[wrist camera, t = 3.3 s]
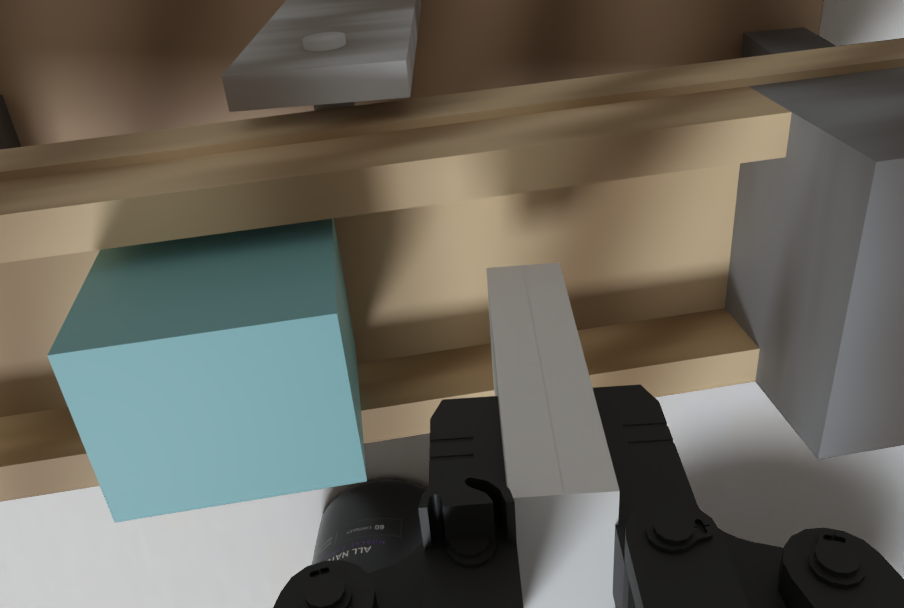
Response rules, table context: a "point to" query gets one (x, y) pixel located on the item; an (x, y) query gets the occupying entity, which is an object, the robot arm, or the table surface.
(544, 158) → the beam
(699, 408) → the table surface
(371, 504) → the supplement bottle
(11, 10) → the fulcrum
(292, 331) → the block
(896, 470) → the table surface
